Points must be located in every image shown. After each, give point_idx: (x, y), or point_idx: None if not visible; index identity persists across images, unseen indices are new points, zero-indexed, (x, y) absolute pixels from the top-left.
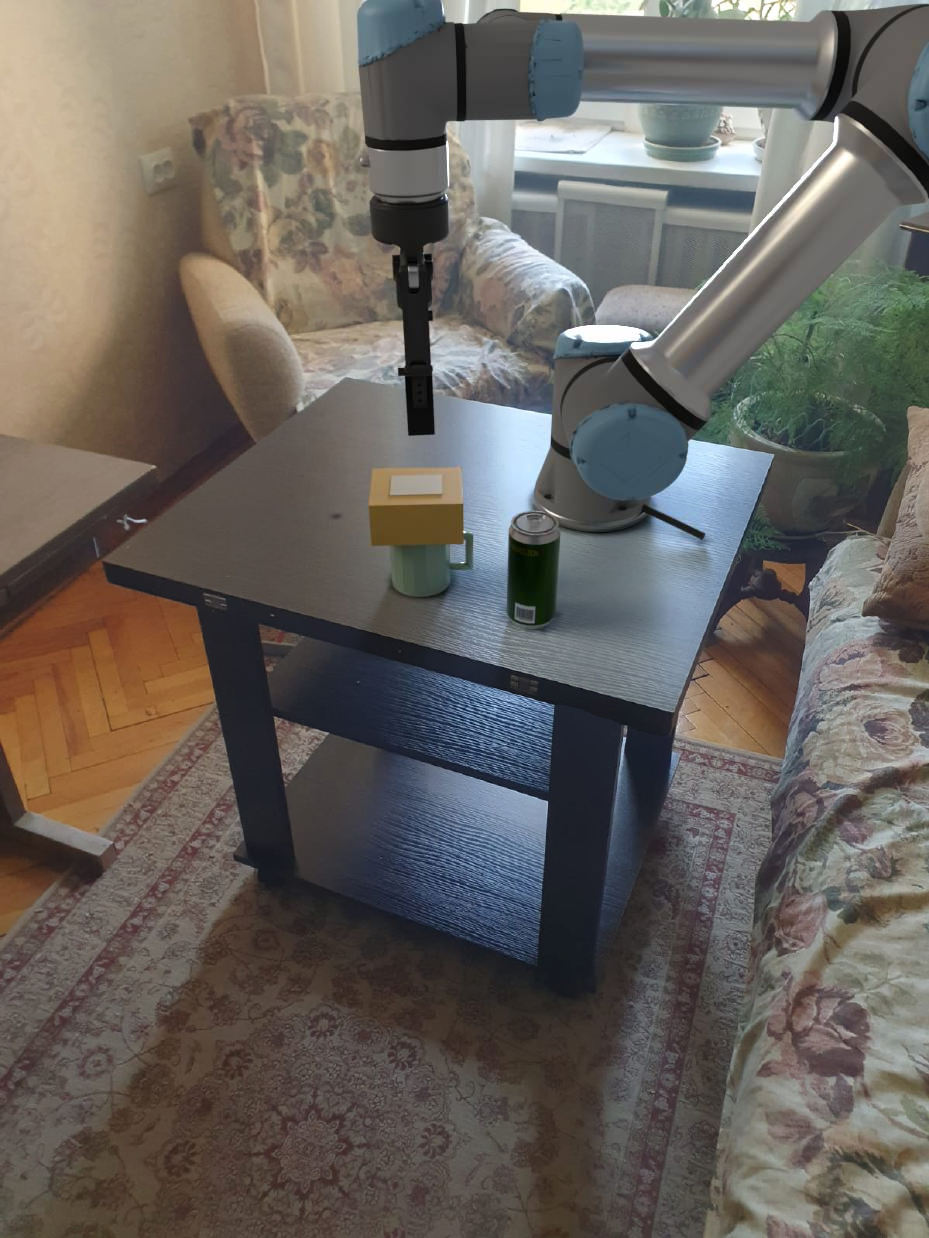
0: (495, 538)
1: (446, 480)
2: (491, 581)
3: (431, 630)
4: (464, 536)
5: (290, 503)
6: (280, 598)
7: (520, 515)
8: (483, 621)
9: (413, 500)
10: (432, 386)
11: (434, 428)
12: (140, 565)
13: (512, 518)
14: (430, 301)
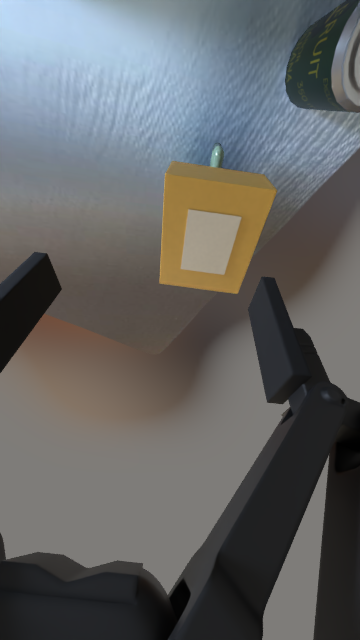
0: (134, 86)
1: (204, 204)
2: (226, 114)
3: (282, 200)
4: (222, 162)
5: (87, 287)
6: (205, 296)
7: (346, 75)
8: (293, 141)
9: (243, 253)
10: (300, 348)
11: (275, 284)
12: (160, 348)
13: (352, 100)
14: (262, 632)
